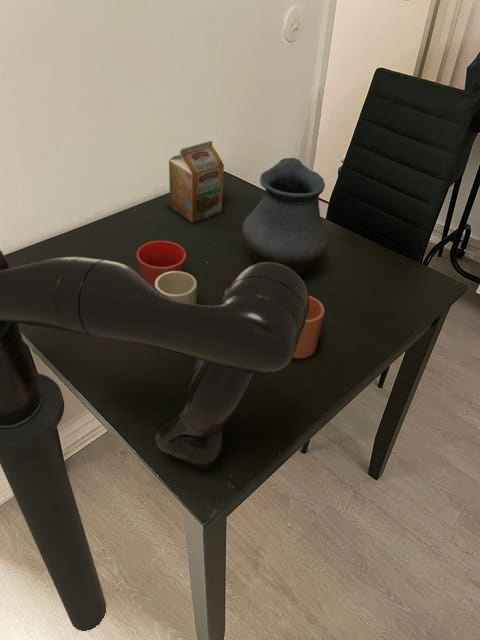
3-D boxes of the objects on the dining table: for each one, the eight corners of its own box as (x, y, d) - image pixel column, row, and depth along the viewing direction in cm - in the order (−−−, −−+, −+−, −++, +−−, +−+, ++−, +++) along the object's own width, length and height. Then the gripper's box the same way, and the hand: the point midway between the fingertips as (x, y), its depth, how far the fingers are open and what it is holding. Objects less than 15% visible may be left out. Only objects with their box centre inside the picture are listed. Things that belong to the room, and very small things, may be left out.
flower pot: (179, 271, 122) (178, 236, 116) (191, 298, 114) (191, 263, 108) (135, 278, 119) (132, 243, 113) (145, 306, 111) (142, 271, 105)
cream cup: (166, 338, 104) (164, 300, 98) (151, 314, 110) (148, 277, 103) (203, 326, 108) (203, 289, 101) (186, 303, 113) (185, 267, 106)
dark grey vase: (241, 291, 118) (249, 193, 101) (238, 241, 134) (244, 149, 117) (328, 294, 119) (349, 197, 102) (314, 243, 135) (331, 153, 119)
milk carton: (192, 222, 139) (192, 156, 127) (170, 207, 145) (168, 142, 133) (221, 211, 145) (224, 147, 132) (199, 197, 151) (200, 134, 138)
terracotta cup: (290, 363, 101) (297, 326, 94) (268, 337, 106) (273, 301, 100) (324, 350, 104) (332, 314, 98) (301, 326, 110) (307, 289, 103)
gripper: (258, 357, 87) (275, 298, 99) (178, 340, 89) (205, 284, 101) (254, 386, 92) (271, 326, 104) (179, 369, 94) (204, 313, 106)
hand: (238, 306), depth 103 cm, fingers closed on beer can, 5 cm apart
